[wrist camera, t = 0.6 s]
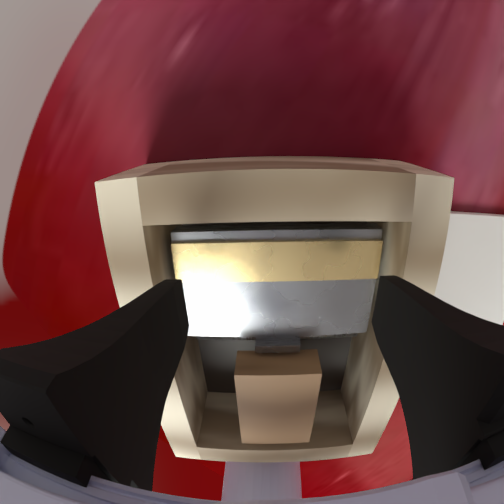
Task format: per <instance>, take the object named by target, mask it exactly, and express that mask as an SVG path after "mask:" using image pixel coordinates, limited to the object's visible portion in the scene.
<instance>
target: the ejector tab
mask: <svg viewBox="0 0 504 504" xmlns="http://www.w3.org/2000/svg"><path fill="white" fill-rule="evenodd" d="M382 230H383V229H382V228H380V227H379V226H378V225H377V224H376V223H278V224H228V225H194V226H176V227H175V228H174V229H173V230H172V232H171V239H172V243H171V250H172V257H173V264H174V270H175V277H176V279H182V284H183V291H184V297H185V303H186V309H187V315H188V321H189V330H188V335H187V336H196V339H204V340H255V353H288V352H300V347H301V344H300V339H322V338H340V337H355V336H357V335H358V333H364V332H366V331H367V327H368V322H369V317H370V311H371V306H372V300H373V295H374V289H375V283H376V279H378V273H379V266H380V259H381V252H382V244H383V240H382Z"/></svg>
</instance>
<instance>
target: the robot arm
mask: <svg viewBox="0 0 504 504" xmlns="http://www.w3.org/2000/svg"><path fill="white" fill-rule="evenodd" d="M371 322H372V326H373V330H374V333H375V337H376V340H377V344H378V346H379V348H380V351H381V353H382V355H383V358H384V360H385V362H386V364H387V367H388V369H389V371H390V374H391V376H392V378H393V381H394V383H395V386H396V388H397V391H398V394H399V397H400V400H401V404H402V408H403V412H404V416H405V421H406V425H407V431H408V436H409V442H410V449H411V457H412V467H413V480H411V481H407V482H403V483H399V484H395V485H391V486H387V487H382V488H377V489H372V490H367V491H362V492H356V493H349V494H343V495H335V496H326V497H317V498H304V499H302V494H301V477H300V461H299V462H228V461H226V466H225V474H224V483H223V492H222V500H221V501H212V500H203V499H194V498H187V497H180V496H174V495H168V494H162V493H157V492H152V485H153V472H154V464H155V456H156V449H157V442H158V437H159V431H160V425H161V420H162V416H163V411H164V406H165V402H166V399H167V396H168V392H169V390H170V387H171V384H172V381H173V379H174V376H175V373H176V371H177V368H178V365H179V362H180V360H181V357H182V354H183V351H184V348H185V344H186V340H187V335H188V330H189V321H188V315H187V309H186V303H185V297H184V291H183V284H182V279H166V280H163V281H161V282H160V283H158V284H156V285H155V286H153V287H152V288H150V289H149V290H147V291H146V292H144V293H143V294H141V295H140V296H138V297H137V298H135V299H134V300H132V301H131V302H129V303H127V304H126V305H124V306H122V307H121V308H119V309H117V310H116V311H114V312H112V313H111V314H109V315H107V316H105V317H103V318H101V319H100V320H98V321H95V322H93V323H91V324H89V325H87V326H85V327H82V328H80V329H77V330H75V331H72V332H69V333H67V334H64V335H62V336H59V337H55V338H52V339H49V340H45V341H41V342H37V343H33V344H28V345H23V346H17V347H11V348H3V349H1V350H0V412H1V414H2V415H3V416H4V418H5V419H6V420H7V421H8V423H9V424H10V427H9V429H8V430H7V431H5V430H4V429H3V428H2V427H1V426H0V504H504V326H503V325H500V324H497V323H494V322H490V321H487V320H484V319H482V318H479V317H477V316H474V315H472V314H469V313H467V312H465V311H462V310H460V309H458V308H456V307H454V306H452V305H450V304H448V303H446V302H444V301H442V300H441V299H439V298H437V297H435V296H433V295H432V294H430V293H428V292H426V291H424V290H423V289H421V288H419V287H417V286H416V285H414V284H412V283H410V282H408V281H406V280H405V279H402V278H400V277H398V276H395V275H388V276H380V278H379V284H378V290H377V296H376V301H375V306H374V312H373V317H372V321H371Z"/></svg>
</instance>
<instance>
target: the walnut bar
mask: <svg viewBox="0 0 504 504" xmlns="http://www.w3.org/2000/svg"><path fill="white" fill-rule="evenodd" d="M321 377H322V371H321V365H320V360H319V355H318V350H317V349H307V350H300V352H288V353H255V351H237V356H236V364H235V372H234V379H235V388H236V398H237V407H238V415H239V424H240V432H241V440H242V443H244V444H281V443H305V442H309V441H310V436H311V432H312V427H313V422H314V417H315V411H316V406H317V400H318V395H319V389H320V383H321Z"/></svg>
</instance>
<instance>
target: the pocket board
mask: <svg viewBox="0 0 504 504" xmlns="http://www.w3.org/2000/svg"><path fill="white" fill-rule="evenodd" d="M453 186H454V177H451V176H448V175H445V174H442V173H439V172H436V171H432V170H429V169H426V168H423V167H420V166H416V165H413V164H409V163H406V162H402V161H397V160H385V159H370V158H351V157H322V156H262V157H232V158H213V159H197V160H184V161H173V162H162V163H152V164H145V165H142V166H139V167H136V168H133V169H130V170H127V171H124V172H121V173H118V174H116V175H113V176H110V177H107V178H105V179H102V180H99V181H97V182H95V189H96V196H97V203H98V209H99V215H100V221H101V227H102V232H103V237H104V243H105V248H106V252H107V257H108V262H109V266H110V270H111V275H112V279H113V283H114V287H115V291H116V295H117V299H118V302H119V306H120V308H121V307H122V306H124V305H126V304H127V303H129V302H131V301H132V300H134V299H135V298H137V297H138V296H140V295H141V294H143V293H144V292H146V291H147V290H149V289H150V288H152V287H153V286H155V285H156V284H158V283H160V282H161V281H163V280H166V279H176V277H175V270H174V264H173V257H172V250H171V243H172V239H171V232H172V230H173V229H174V228H175V227H176V226H194V225H228V224H278V223H376V224H377V225H378V226H379V227H380V228H382V229H383V230H382V240H383V244H382V252H381V259H380V266H379V273H378V279H376V283H375V289H374V295H373V300H372V306H371V311H370V317H369V322H368V327H367V331H366V332H364V333H358V335H357V336H355V337H340V338H322V339H300V344H301V347H300V350H307V349H317V350H318V355H319V360H320V365H321V371H322V377H321V383H320V389H319V395H318V400H317V406H316V411H315V417H314V422H313V427H312V432H311V436H310V441H309V442H305V443H281V444H244V443H242V440H241V432H240V424H239V415H238V407H237V398H236V388H235V379H234V372H235V364H236V356H237V351H255V340H204V339H196V336H187V340H186V344H185V348H184V351H183V354H182V357H181V360H180V362H179V365H178V368H177V371H176V373H175V376H174V379H173V381H172V384H171V387H170V390H169V392H168V396H167V399H166V402H165V406H164V411H163V416H162V420H161V426H162V428H163V430H164V432H165V435H166V437H167V439H168V441H169V443H170V445H171V447H172V450H173V452H174V454H175V456H176V457H184V458H192V459H202V460H213V461H228V462H299V461H314V460H326V459H335V458H343V457H351V456H358V455H364V454H370V453H372V452H373V450H374V449H375V447H376V445H377V443H378V441H379V439H380V437H381V435H382V433H383V431H384V429H385V427H386V425H387V423H388V421H389V419H390V417H391V415H392V412H393V410H394V408H395V406H396V404H397V401H398V399H399V394H398V391H397V388H396V386H395V383H394V381H393V378H392V376H391V374H390V371H389V369H388V367H387V364H386V362H385V360H384V358H383V355H382V353H381V351H380V348H379V346H378V344H377V340H376V337H375V333H374V330H373V326H372V322H371V321H372V317H373V312H374V306H375V301H376V296H377V290H378V284H379V278H380V276H388V275H395V276H398V277H400V278H402V279H405V280H406V281H408V282H410V283H412V284H414V285H416V286H417V287H419V288H421V289H423V290H424V291H426V292H428V293H430V294H432V295H433V296H434V294H435V290H436V286H437V282H438V278H439V273H440V269H441V264H442V259H443V254H444V249H445V244H446V238H447V232H448V226H449V219H450V212H451V205H452V196H453Z"/></svg>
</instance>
